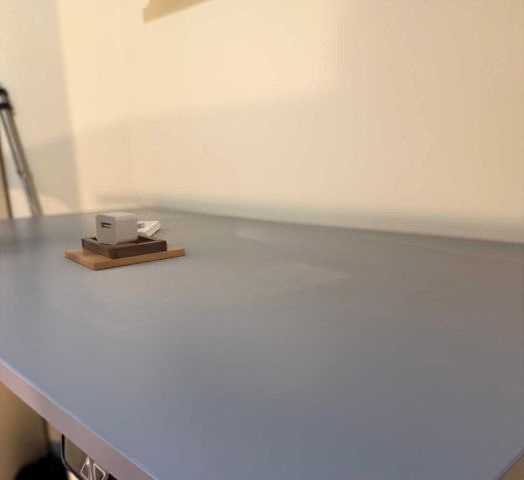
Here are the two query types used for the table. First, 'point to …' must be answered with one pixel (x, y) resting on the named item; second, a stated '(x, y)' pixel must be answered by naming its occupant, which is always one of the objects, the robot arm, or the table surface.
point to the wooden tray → (122, 252)
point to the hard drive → (149, 227)
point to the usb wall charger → (117, 227)
